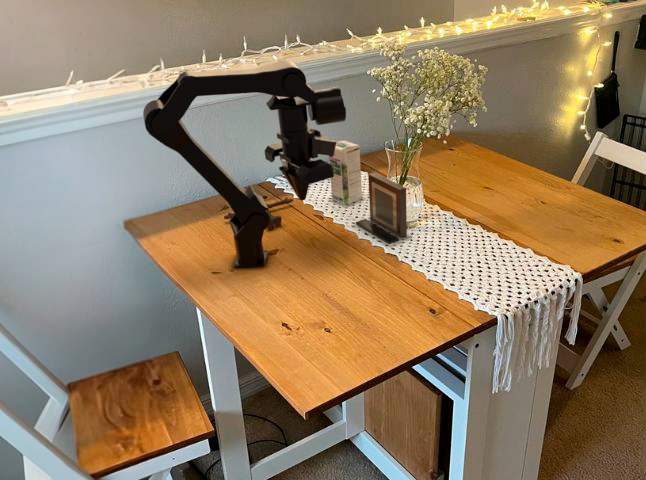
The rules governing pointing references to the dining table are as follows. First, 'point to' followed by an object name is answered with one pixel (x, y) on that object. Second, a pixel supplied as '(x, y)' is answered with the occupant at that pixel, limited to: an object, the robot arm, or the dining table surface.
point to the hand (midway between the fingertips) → (302, 199)
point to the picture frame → (387, 204)
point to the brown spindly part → (273, 219)
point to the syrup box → (346, 173)
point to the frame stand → (377, 231)
